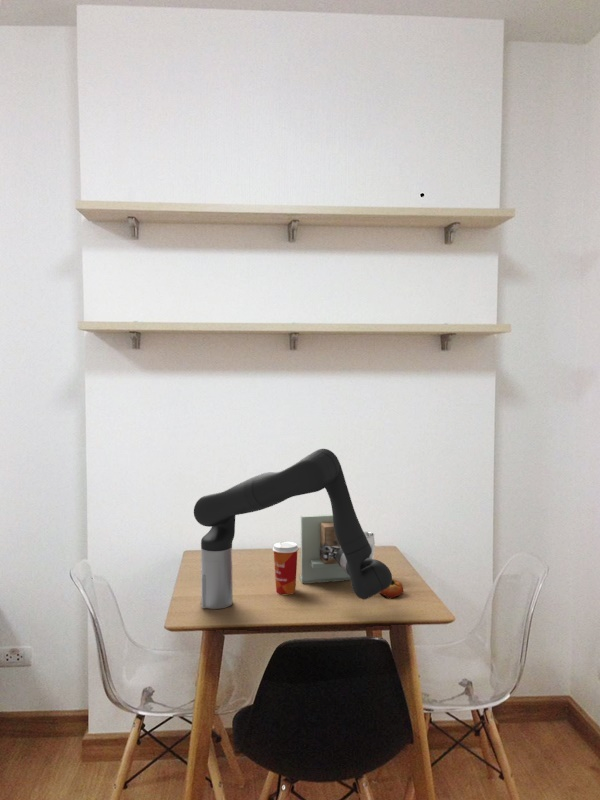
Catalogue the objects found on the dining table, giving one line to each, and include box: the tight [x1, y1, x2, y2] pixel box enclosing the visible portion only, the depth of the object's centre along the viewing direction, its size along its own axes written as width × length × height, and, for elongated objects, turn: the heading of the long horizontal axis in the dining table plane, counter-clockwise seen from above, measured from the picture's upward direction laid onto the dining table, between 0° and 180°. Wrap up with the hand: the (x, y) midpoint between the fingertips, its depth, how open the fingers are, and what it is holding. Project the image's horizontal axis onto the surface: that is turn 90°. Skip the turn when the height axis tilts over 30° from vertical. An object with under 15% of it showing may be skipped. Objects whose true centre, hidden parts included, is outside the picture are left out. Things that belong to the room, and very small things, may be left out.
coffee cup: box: [272, 541, 300, 595], centre depth 199 cm, size 8×8×15 cm
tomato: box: [379, 578, 404, 599], centre depth 197 cm, size 8×7×7 cm
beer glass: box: [363, 531, 376, 559], centre depth 212 cm, size 7×7×15 cm
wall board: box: [298, 513, 351, 584], centre depth 208 cm, size 17×10×22 cm, turn 101°
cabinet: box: [320, 522, 340, 564], centre depth 204 cm, size 5×7×12 cm
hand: (338, 545), depth 194 cm, fingers open, 8 cm apart
